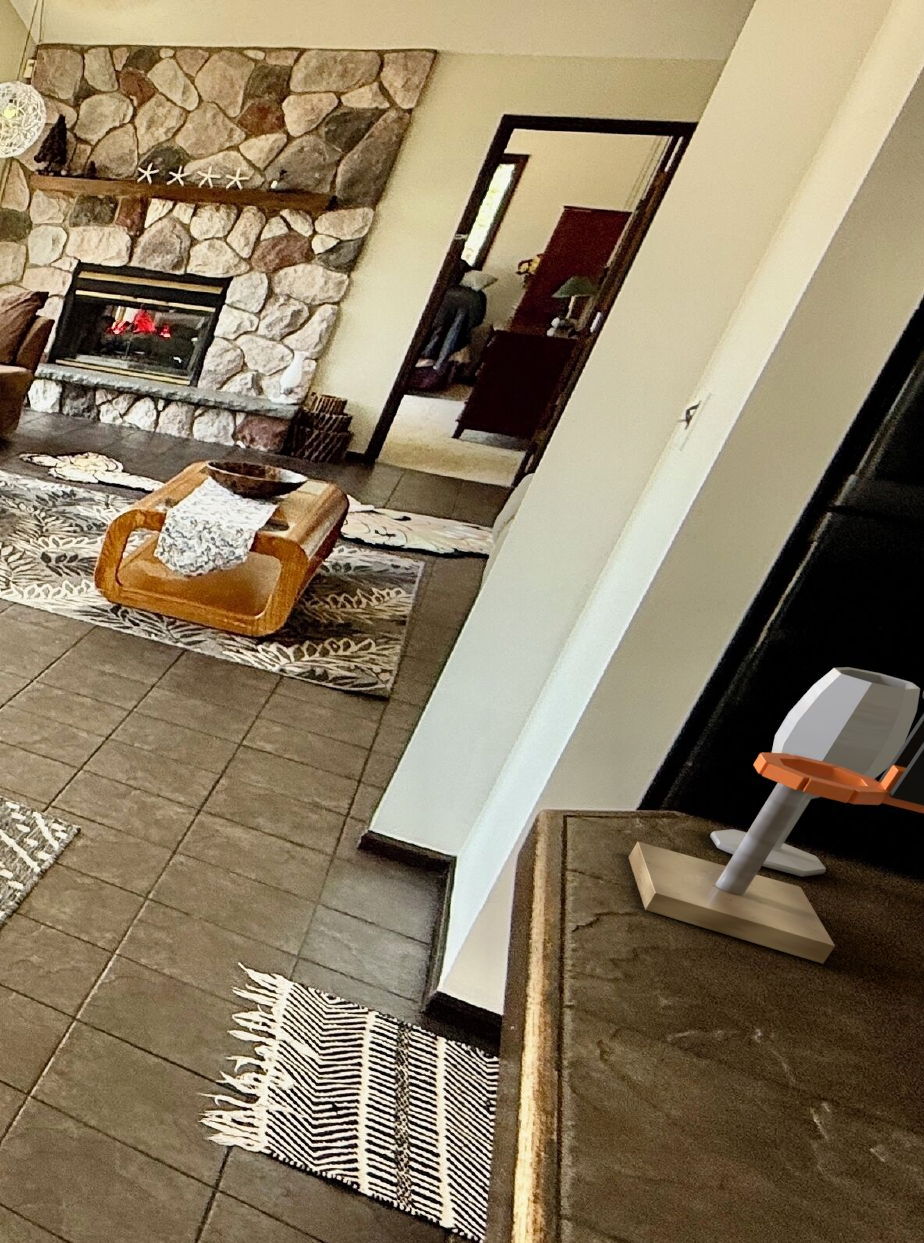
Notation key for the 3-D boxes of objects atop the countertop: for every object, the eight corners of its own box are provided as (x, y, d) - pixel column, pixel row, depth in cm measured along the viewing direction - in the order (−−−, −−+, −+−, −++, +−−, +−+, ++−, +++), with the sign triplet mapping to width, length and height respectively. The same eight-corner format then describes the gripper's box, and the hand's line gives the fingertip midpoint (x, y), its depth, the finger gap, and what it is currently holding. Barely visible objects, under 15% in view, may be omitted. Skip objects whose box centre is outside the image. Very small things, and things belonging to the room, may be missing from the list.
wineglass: (829, 865, 125) (947, 686, 116) (815, 886, 120) (937, 701, 112) (716, 828, 131) (821, 656, 123) (699, 847, 126) (806, 669, 118)
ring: (914, 797, 99) (935, 766, 98) (940, 827, 94) (963, 794, 93) (748, 756, 105) (766, 727, 104) (763, 782, 100) (782, 751, 99)
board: (789, 903, 116) (870, 780, 110) (823, 964, 106) (913, 831, 100) (628, 857, 123) (696, 738, 117) (644, 909, 113) (720, 782, 107)
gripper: (984, 497, 95) (822, 752, 105) (1055, 526, 84) (866, 810, 94) (1129, 517, 91) (947, 782, 101) (1224, 551, 80) (1009, 846, 89)
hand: (908, 795), depth 97 cm, fingers closed on ring, 3 cm apart
